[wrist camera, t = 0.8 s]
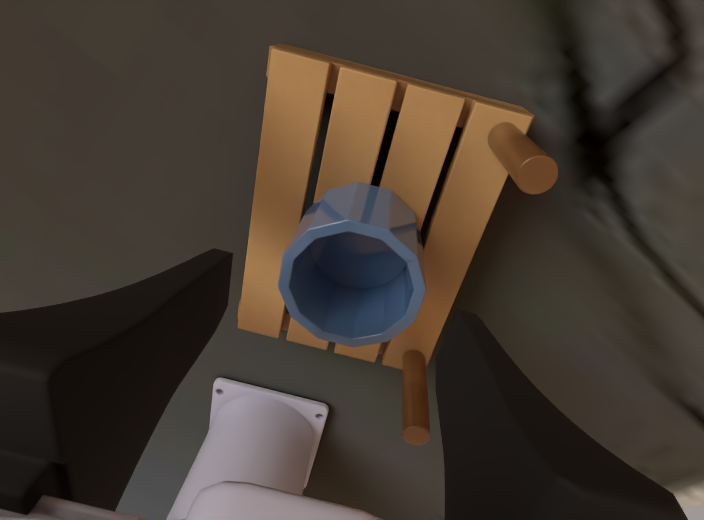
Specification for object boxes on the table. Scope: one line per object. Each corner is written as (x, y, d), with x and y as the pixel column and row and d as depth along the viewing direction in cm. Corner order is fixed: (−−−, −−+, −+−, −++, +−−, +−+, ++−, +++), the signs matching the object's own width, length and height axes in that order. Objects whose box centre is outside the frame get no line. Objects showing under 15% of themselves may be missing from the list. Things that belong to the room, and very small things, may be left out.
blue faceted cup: (400, 302, 21) (400, 360, 18) (293, 274, 21) (270, 327, 17) (436, 201, 18) (444, 244, 15) (313, 169, 18) (290, 205, 15)
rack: (425, 341, 26) (433, 457, 19) (249, 296, 26) (191, 397, 19) (522, 106, 19) (590, 152, 12) (283, 43, 19) (212, 53, 12)
